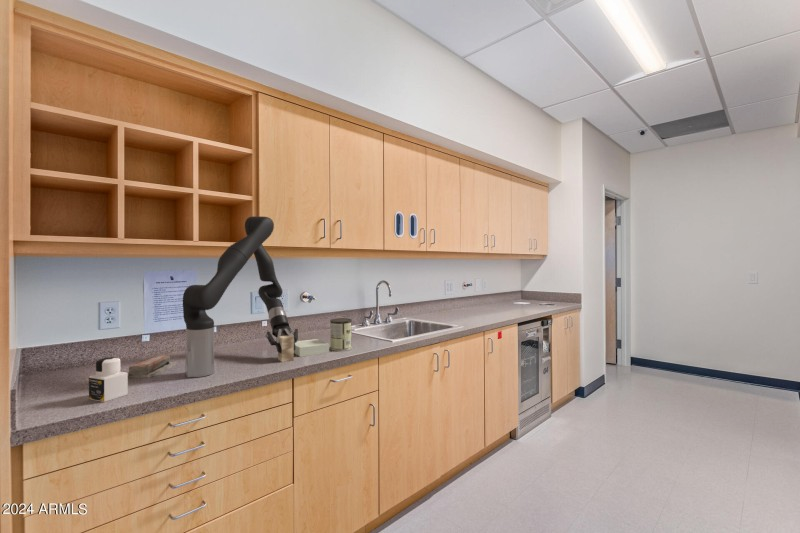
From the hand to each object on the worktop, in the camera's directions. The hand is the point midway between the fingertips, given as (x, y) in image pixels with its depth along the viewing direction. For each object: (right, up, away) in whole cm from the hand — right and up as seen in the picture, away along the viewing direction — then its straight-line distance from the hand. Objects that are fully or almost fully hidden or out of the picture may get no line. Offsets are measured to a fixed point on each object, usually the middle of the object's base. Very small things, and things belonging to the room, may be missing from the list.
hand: (287, 351), depth 163 cm
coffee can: (+19, -4, +23) cm, 30 cm away
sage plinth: (+5, -4, +17) cm, 18 cm away
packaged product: (-48, -5, -15) cm, 50 cm away
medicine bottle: (-43, -5, -44) cm, 61 cm away
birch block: (-1, -4, +2) cm, 5 cm away
